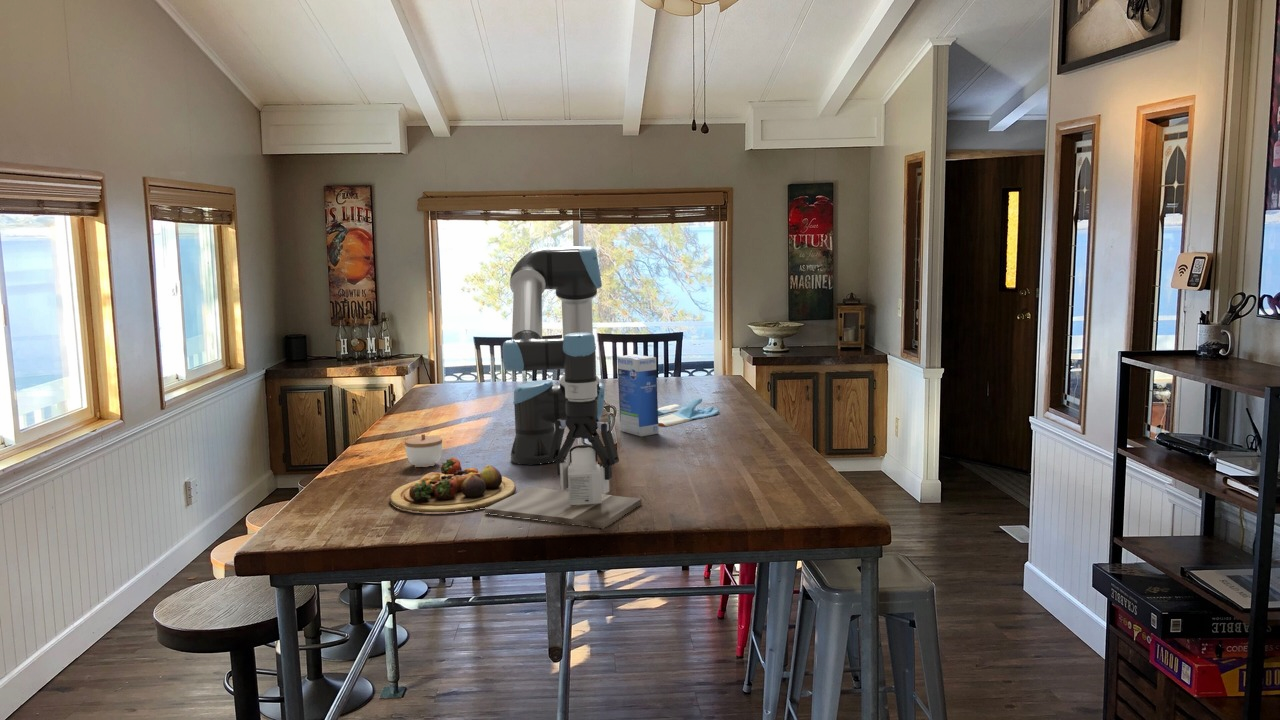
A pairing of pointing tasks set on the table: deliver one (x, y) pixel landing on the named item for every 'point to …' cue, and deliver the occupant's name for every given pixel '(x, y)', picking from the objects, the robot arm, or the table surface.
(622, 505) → the board
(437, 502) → the wooden plate with food
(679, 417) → the rubber gloves
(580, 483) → the container
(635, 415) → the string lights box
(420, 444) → the lidded jar
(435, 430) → the table surface
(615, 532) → the table surface
